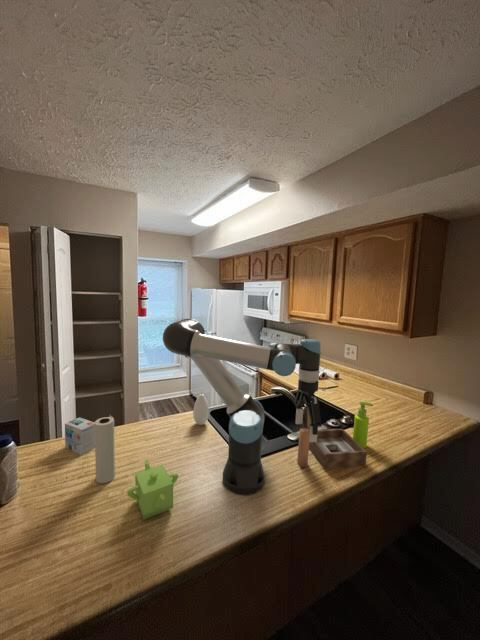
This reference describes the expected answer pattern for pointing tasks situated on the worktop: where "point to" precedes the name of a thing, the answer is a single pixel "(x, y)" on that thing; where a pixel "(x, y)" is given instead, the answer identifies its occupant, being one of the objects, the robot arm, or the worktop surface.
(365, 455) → the box
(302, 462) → the peg
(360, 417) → the soap dispenser
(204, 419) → the sauce bottle
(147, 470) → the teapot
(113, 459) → the paper towel roll
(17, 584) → the worktop surface
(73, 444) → the light bulb box
